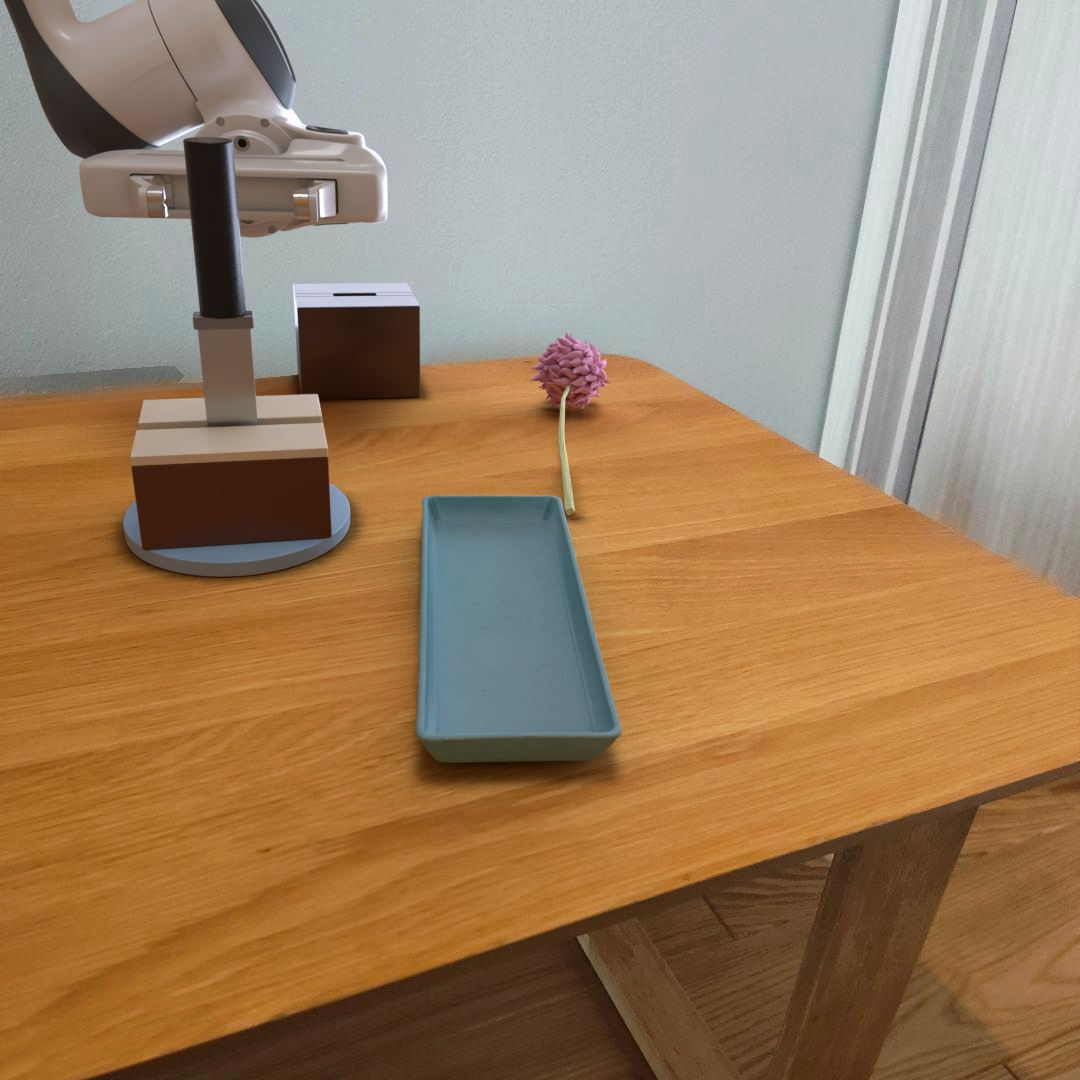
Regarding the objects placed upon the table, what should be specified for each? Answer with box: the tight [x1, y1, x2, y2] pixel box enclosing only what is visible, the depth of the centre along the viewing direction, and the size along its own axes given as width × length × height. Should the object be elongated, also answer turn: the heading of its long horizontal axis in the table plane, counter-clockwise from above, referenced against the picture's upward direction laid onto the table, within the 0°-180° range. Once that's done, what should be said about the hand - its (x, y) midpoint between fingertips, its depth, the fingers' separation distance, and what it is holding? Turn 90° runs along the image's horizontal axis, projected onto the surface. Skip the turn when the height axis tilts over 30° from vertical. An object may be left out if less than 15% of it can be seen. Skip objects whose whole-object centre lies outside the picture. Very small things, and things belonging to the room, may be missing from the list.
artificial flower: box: [529, 331, 611, 517], centre depth 82 cm, size 7×7×25 cm
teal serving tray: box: [414, 494, 623, 764], centre depth 58 cm, size 26×9×2 cm, turn 5°
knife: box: [182, 136, 258, 427], centre depth 63 cm, size 3×3×22 cm
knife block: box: [292, 282, 421, 401], centre depth 92 cm, size 10×8×8 cm
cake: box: [122, 394, 351, 578], centre depth 67 cm, size 14×14×7 cm
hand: (229, 206), depth 67 cm, fingers open, 8 cm apart
